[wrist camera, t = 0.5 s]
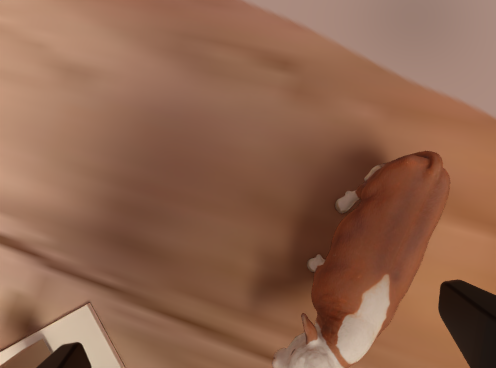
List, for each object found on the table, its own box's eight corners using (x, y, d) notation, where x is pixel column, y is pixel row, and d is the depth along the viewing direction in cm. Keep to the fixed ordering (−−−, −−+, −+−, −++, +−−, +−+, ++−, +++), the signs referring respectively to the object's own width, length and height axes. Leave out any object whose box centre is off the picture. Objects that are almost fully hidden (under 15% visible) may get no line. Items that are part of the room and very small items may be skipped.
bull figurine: (254, 318, 22) (260, 393, 14) (364, 149, 22) (432, 124, 14) (310, 354, 22) (348, 451, 14) (418, 185, 22) (519, 181, 14)
